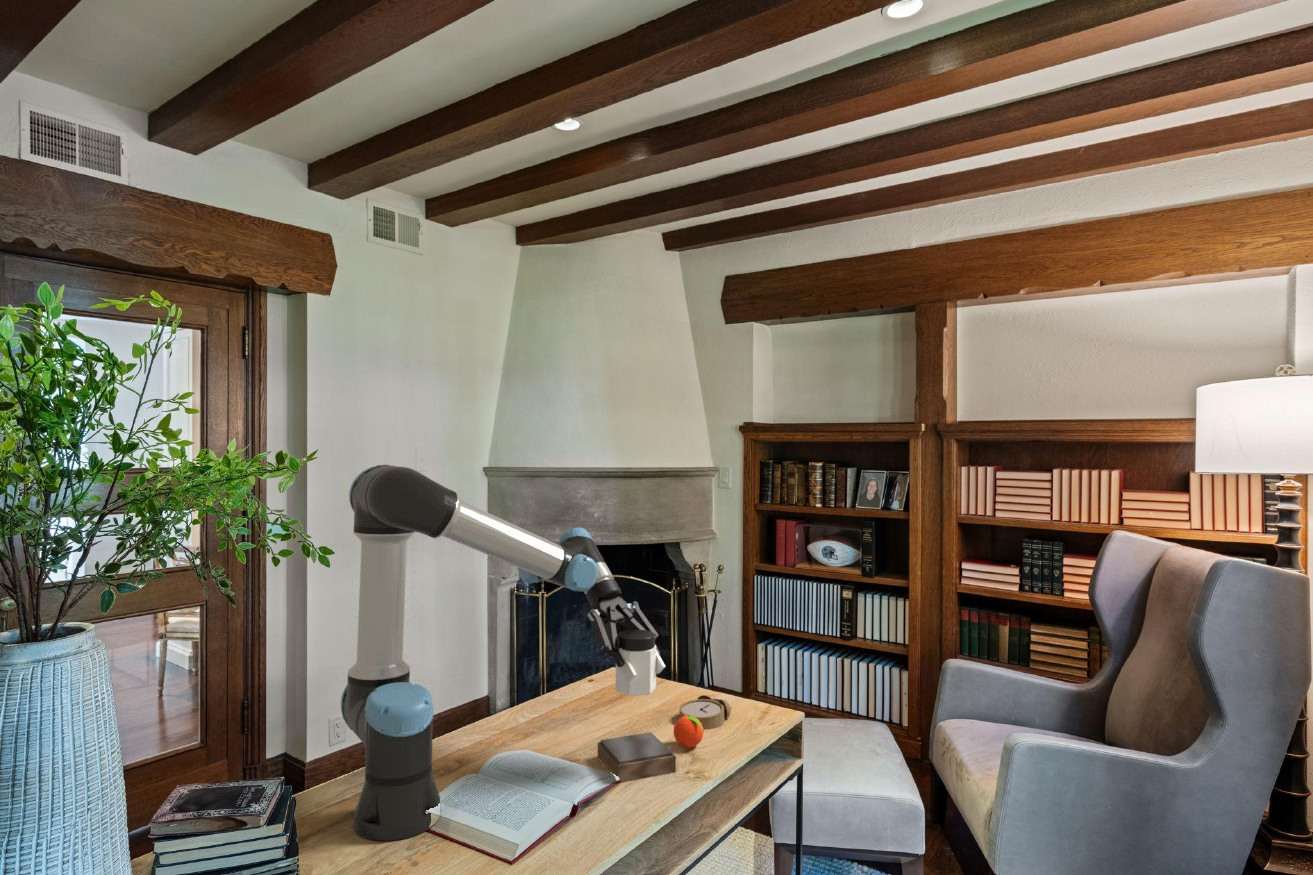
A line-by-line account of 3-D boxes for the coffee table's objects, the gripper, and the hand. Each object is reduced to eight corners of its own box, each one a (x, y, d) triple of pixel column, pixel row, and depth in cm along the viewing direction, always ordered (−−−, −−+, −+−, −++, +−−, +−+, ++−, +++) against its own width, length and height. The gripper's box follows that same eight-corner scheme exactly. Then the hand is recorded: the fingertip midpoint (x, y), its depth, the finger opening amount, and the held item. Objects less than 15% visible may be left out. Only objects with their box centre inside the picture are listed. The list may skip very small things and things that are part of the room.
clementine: (713, 747, 169) (713, 716, 169) (692, 756, 164) (693, 724, 164) (687, 737, 175) (687, 707, 175) (667, 746, 170) (667, 715, 170)
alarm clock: (669, 711, 185) (704, 685, 196) (671, 729, 185) (705, 703, 197) (706, 722, 177) (739, 695, 189) (708, 741, 178) (741, 713, 190)
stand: (618, 782, 151) (618, 763, 151) (597, 757, 163) (597, 739, 163) (675, 772, 156) (675, 753, 156) (651, 748, 168) (651, 730, 168)
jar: (651, 681, 165) (651, 628, 165) (660, 694, 157) (660, 637, 157) (612, 684, 163) (612, 630, 163) (619, 697, 155) (619, 640, 155)
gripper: (626, 591, 178) (672, 673, 167) (556, 603, 164) (601, 694, 152) (641, 572, 175) (689, 655, 163) (571, 582, 160) (618, 674, 149)
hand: (647, 674), depth 158 cm, fingers closed on jar, 8 cm apart
